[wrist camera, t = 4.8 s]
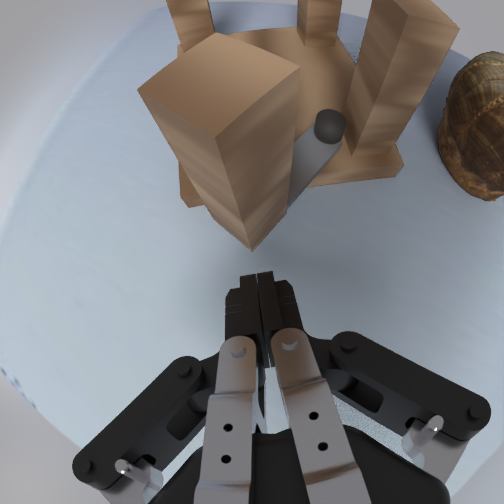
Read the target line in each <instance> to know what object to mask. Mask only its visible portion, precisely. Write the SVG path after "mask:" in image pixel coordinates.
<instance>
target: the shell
mask: <svg viewBox="0 0 504 504" xmlns="http://www.w3.org/2000/svg"><path fill="white" fill-rule="evenodd" d="M443 109H444V113H443V119H442V121H441V123H440V125H439V127H438V146H439V151H440V155H441V159H442V162H443V163H444V165H445V166H446V168H447V169H448V171H449V172H450V174H451V176H452V177H453V179H454V180H455V181H456V182H457V183H458V184H459V185H460V186H461V187H462V188H463V189H464V190H465V191H466V192H468V193H469V194H470V195H471V196H474V197H477V198H481V199H483V200H484V201H495V200H496V199H497V198H498V197H500V196H503V195H504V54H502V53H499V52H495V51H491V52H486V53H482V54H480V55H478V56H476V57H474V58H473V59H472V60H471V61H469V62H468V63H467V65H465V66H464V67H463V68H462V69H461V70H460V71H458V73H457V74H456V76H455V78H454V80H453V82H452V84H451V86H450V90H449V95H448V97H447V98H446V107H445V108H443Z"/></svg>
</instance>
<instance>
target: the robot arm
mask: <svg viewBox="0 0 504 504" xmlns="http://www.w3.org/2000/svg"><path fill="white" fill-rule="evenodd" d="M257 280H258V283H257ZM225 306H226V308H225V314H226V315H225V342H224V343H223V344H222V346H221V348H220V351H219V352H218V353H217V354H215V355H214V356H211V357H209V358H207V359H204V360H201V361H199V360H198V359H196V358H194V357H191V356H184V357H180V358H178V359H176V360H174V361H173V362H172V363H171V364H170V365H169V366H168V367H167V368H166V369H165V370H164V371H163V372H162V373H161V374H160V375H159V376H158V377H157V378H156V379H155V380H154V381H153V382H152V383H151V384H150V385H149V386H148V387H147V388H146V389H145V390H144V391H143V392H142V393H141V394H140V395H138V396H137V397H136V398H135V399H134V400H133V401H132V402H131V403H130V404H129V405H128V406H127V407H126V408H125V409H124V410H123V411H122V412H121V413H120V414H119V415H118V416H117V417H116V418H115V419H114V420H113V421H112V422H111V423H110V424H108V425H107V426H106V427H105V428H104V429H103V430H102V431H101V432H100V433H99V434H98V435H97V436H96V437H95V438H94V439H93V440H92V441H91V442H90V443H88V444H87V445H86V446H85V447H84V448H83V449H82V450H81V451H80V452H79V453H78V454H77V455H76V456H75V458H74V460H73V464H72V469H73V473H74V475H75V476H76V478H77V479H78V480H80V481H81V482H83V483H86V484H88V485H90V486H92V487H93V488H95V489H97V490H99V491H100V492H101V493H102V494H103V496H104V497H105V498H106V499H107V500H108V501H109V502H110V504H450V495H449V491H448V489H447V487H446V486H445V483H446V481H447V480H448V478H449V476H450V475H451V473H452V471H453V470H454V468H455V466H456V464H457V463H458V461H459V459H460V457H461V455H462V454H463V452H464V450H465V448H466V446H467V444H468V442H469V440H470V439H471V438H472V437H473V436H475V435H476V434H477V433H478V432H479V431H480V430H482V429H483V428H484V427H485V426H486V425H487V424H488V422H489V420H490V417H491V408H490V405H489V403H488V401H487V400H486V399H485V398H484V397H482V396H480V395H478V394H476V393H474V392H472V391H470V390H468V389H466V388H464V387H462V386H460V385H458V384H456V383H454V382H452V381H450V380H448V379H446V378H444V377H442V376H440V375H438V374H436V373H434V372H432V371H430V370H428V369H426V368H424V367H422V366H420V365H418V364H416V363H414V362H412V361H410V360H408V359H406V358H404V357H402V356H400V355H399V354H397V353H395V352H393V351H391V350H389V349H387V348H385V347H383V346H381V345H379V344H377V343H376V342H374V341H372V340H370V339H368V338H366V337H364V336H362V335H360V334H358V333H356V332H351V331H346V332H341V333H339V334H337V335H336V336H334V337H333V339H332V340H324V339H317V338H314V337H311V336H310V335H308V334H307V333H306V332H305V330H304V328H303V325H302V321H301V318H300V314H299V310H298V306H297V303H296V298H295V295H294V291H293V287H292V286H291V285H290V284H289V283H288V282H287V281H286V280H282V281H276V282H275V281H274V276H273V271H269V272H263V273H257V278H256V274H252V275H246V276H240V288H235V289H230V291H229V292H228V294H227V296H226V302H225ZM268 354H269V357H268ZM269 358H270V363H271V367H275V368H276V373H277V379H278V384H279V388H280V392H281V396H282V400H283V405H284V409H285V413H286V417H287V422H288V426H289V429H286V430H284V431H281V432H279V433H276V434H268V431H267V424H266V383H265V380H266V377H265V368H270V365H269ZM331 393H332V394H333V395H335V396H336V397H338V398H339V399H341V400H343V401H344V402H346V403H347V404H349V405H350V406H352V407H354V408H355V409H357V410H358V411H360V412H362V413H363V414H365V415H366V416H368V417H370V418H371V419H373V420H375V421H376V422H378V423H380V424H381V425H383V426H385V427H386V428H388V429H390V430H392V431H393V432H395V433H397V434H398V435H400V436H402V437H403V438H402V449H403V451H404V452H405V454H407V455H408V456H409V457H410V458H411V459H412V460H413V462H414V464H412V463H411V462H409V461H407V460H406V459H404V458H403V457H401V456H399V455H398V454H396V453H395V452H393V451H391V450H390V449H388V448H387V447H385V446H384V445H382V444H381V443H379V442H378V441H376V440H374V439H373V438H371V437H370V436H369V435H367V434H366V433H364V432H362V431H361V430H359V429H357V428H354V427H351V426H348V425H344V424H342V422H341V419H340V416H339V413H338V410H337V408H336V405H335V402H334V399H333V396H332V394H331ZM204 426H205V433H204V442H203V446H202V447H200V448H199V449H197V450H196V451H195V452H194V453H193V454H192V455H191V456H190V457H189V458H188V459H187V461H186V462H185V463H184V464H183V465H182V466H181V467H180V469H179V470H178V471H177V472H176V473H175V474H174V475H173V476H172V478H171V479H170V480H169V481H168V482H167V483H166V484H165V485H164V486H163V488H162V489H161V487H162V485H163V475H162V471H163V470H164V469H165V468H166V467H167V466H168V465H169V464H170V463H171V462H172V461H173V460H174V459H175V457H176V456H177V455H178V454H179V453H180V452H181V451H182V450H183V449H184V448H185V447H186V446H187V445H188V444H189V442H190V441H191V440H192V439H193V438H194V437H195V436H196V435H197V434H198V433H199V431H200V430H201V429H202V428H203V427H204ZM160 489H161V490H160ZM159 490H160V491H159ZM158 491H159V492H158Z"/></svg>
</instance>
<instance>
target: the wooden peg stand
mask: <svg viewBox="0 0 504 504" xmlns="http://www.w3.org/2000/svg"><path fill="white" fill-rule="evenodd" d="M166 2H167V5H168V8H169V11H170V13H171V16H172V19H173V22H174V25H175V28H176V31H177V34H178V37H179V40H180V43H181V44H179V45H178V54H177V58H178V57H179V56H181V55H182V54H184V53H185V52H186V51H188V50H189V49H191V48H192V47H194V46H195V45H197V44H198V43H200V42H201V41H203V40H205V39H206V38H208V37H209V36H211V35H213V34H214V33H215V29H214V25H213V20H212V15H211V11H210V6H209V2H208V0H166ZM341 5H342V0H298V11H297V27H286V28H273V29H262V30H253V31H246V32H239V33H232V34H226V36H229V37H232V38H235V39H238V40H240V41H243V42H246V43H248V44H251V45H253V46H256V47H258V48H261V49H263V50H265V51H268V52H270V53H272V54H275V55H277V56H279V57H281V58H284V59H286V60H288V61H290V62H292V63H294V64H296V65H298V66H300V77H299V90H298V102H297V113H296V124H295V135H294V142H295V141H296V140H297V139H298V138H299V137H300V136H302V135H303V134H304V133H305V132H306V131H307V130H308V129H309V128H310V127H311V126H312V125H313V124H315V121H316V116H317V114H318V112H320V111H321V110H324V109H333V110H336V111H338V112H340V113H341V114H342V115H343V116H344V117H345V119H346V121H347V125H346V128H345V131H344V134H343V137H342V140H341V142H343V143H342V146H341V149H340V150H339V151H338V152H337V153H336V154H335V156H334V157H333V158H332V159H331V160H330V161H329V162H328V163H327V165H326V166H325V167H324V168H323V169H322V170H321V171H320V172H319V174H318V175H317V176H316V177H315V178H314V179H313V180H312V182H311V183H310V184H309V185H308V186H307V187H313V186H321V185H328V184H336V183H344V182H352V181H361V180H370V179H379V178H389V177H395V176H396V175H397V173H398V172H399V171H400V170H401V168H402V167H403V166H404V164H403V161H402V159H401V156H400V154H399V151H398V149H397V146H396V144H395V143H396V141H397V139H398V138H399V136H400V135H401V133H402V131H403V130H404V128H405V127H406V125H407V123H408V122H409V120H410V118H411V117H412V115H413V113H414V112H415V110H416V108H417V107H418V105H419V103H420V101H421V100H422V98H423V96H424V95H425V93H426V91H427V89H428V88H429V86H430V84H431V82H432V81H433V79H434V77H435V75H436V73H437V72H438V70H439V68H440V66H441V64H442V62H443V61H444V59H445V57H446V55H447V53H448V51H449V49H450V47H451V45H452V43H453V41H454V39H455V38H456V35H457V33H458V31H459V30H460V28H459V27H458V26H457V25H456V24H455V23H454V22H453V21H452V20H451V19H450V18H449V17H448V16H447V15H446V14H445V13H444V12H443V11H442V10H441V9H440V8H439V7H437V6H436V5H435V4H434V3H433V2H432V1H431V0H372V4H371V9H370V13H369V17H368V21H367V25H366V29H365V33H364V37H363V41H362V45H361V49H360V53H359V56H358V60H357V64H356V65H355V63H354V61H353V60H352V58H351V57H350V55H349V53H348V52H347V50H346V49H345V47H344V45H343V44H342V42H341V41H340V39H339V38H338V36H337V30H338V24H339V17H340V11H341ZM179 180H180V196H181V198H182V200H183V201H184V202H185V204H186V205H187V206H188V208H190V207H195V206H200V205H205V204H204V202H203V201H202V199H201V197H200V196H199V194H198V192H197V191H196V189H195V187H194V186H193V184H192V182H191V181H190V179H189V177H188V176H187V174H186V172H185V171H184V169H183V167H182V166H181V164H180V162H179Z"/></svg>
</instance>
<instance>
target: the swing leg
mask: <svg viewBox="0 0 504 504" xmlns="http://www.w3.org/2000/svg"><path fill="white" fill-rule="evenodd" d="M299 77H300V66H298V65H296V64H294V63H292V62H290V61H288V60H286V59H284V58H281V57H279V56H277V55H275V54H272V53H270V52H268V51H265V50H263V49H261V48H258V47H256V46H253V45H251V44H248V43H246V42H243V41H240V40H238V39H235V38H232V37H229V36H226V35H223V34H220V33H217V32H216V33H214V34H213V35H211V36H209V37H208V38H206V39H205V40H203V41H201V42H200V43H198V44H197V45H195V46H194V47H192V48H191V49H189V50H188V51H186V52H185V53H184V54H182V55H181V56H179V57H178V58H177V59H175V60H174V61H172V62H171V63H170V64H168V65H167V66H166V67H164V68H163V69H162V70H160V71H159V72H158V73H157V74H155V75H154V76H153V77H152V78H150V79H149V80H148V81H147V82H145V83H144V84H143V85H142V86H141V87H139V88H138V89H137V91H138V92H139V94H140V96H141V98H142V99H143V101H144V103H145V104H146V106H147V108H148V110H149V111H150V113H151V115H152V117H153V118H154V120H155V122H156V123H157V125H158V127H159V128H160V130H161V132H162V134H163V135H164V137H165V139H166V140H167V142H168V144H169V145H170V147H171V149H172V151H173V152H174V154H175V156H176V157H177V159H178V161H179V162H180V164H181V166H182V167H183V169H184V171H185V172H186V174H187V176H188V177H189V179H190V181H191V182H192V184H193V186H194V187H195V189H196V191H197V192H198V194H199V196H200V197H201V199H202V201H203V202H204V204H205V206H206V207H207V209H208V211H209V212H210V214H211V216H212V217H213V219H214V220H215V221H216V222H217V223H218V224H220V225H221V226H222V227H223V228H224V229H226V230H227V231H228V232H229V233H230V234H232V235H233V236H234V237H235V238H236V239H238V240H239V241H240V242H241V243H242V244H243V245H245V246H246V247H247V248H248V249H249V250H251V251H252V252H253V251H254V250H255V248H256V247H257V246H258V245H259V244H260V243H261V242H262V240H263V239H264V238H265V237H266V236H267V235H268V234H269V232H270V231H271V230H272V229H273V228H274V227H275V226H276V225H277V223H278V222H279V221H280V220H281V219H282V218H283V217H284V215H285V214H286V211H287V209H288V208H289V206H290V205H291V204H292V203H293V202H294V201H295V200H296V198H297V197H298V196H299V195H300V194H301V193H302V192H303V191H304V189H305V188H306V187H307V186H308V185H309V184H310V183H311V182H312V180H313V179H314V178H315V177H316V176H317V175H318V174H319V172H320V171H321V170H322V169H323V168H324V167H325V166H326V165H327V163H328V162H329V161H330V160H331V159H332V158H333V157H334V156H335V154H336V153H337V152H338V151H339V150H340V149H341V146H342V143H343V142H341V140H342V137H343V134H344V131H345V128H346V125H347V121H346V119H345V117H344V116H343V115H342V114H341V113H340V112H338V111H336V110H333V109H324V110H321V111H320V112H318V114H317V116H316V121H315V124H313V125H312V126H311V127H310V128H309V129H308V130H307V131H306V132H305V133H304V134H303V135H302V136H300V137H299V138H298V139H297V140H296V141H295V142H294V135H295V124H296V113H297V102H298V90H299Z"/></svg>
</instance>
